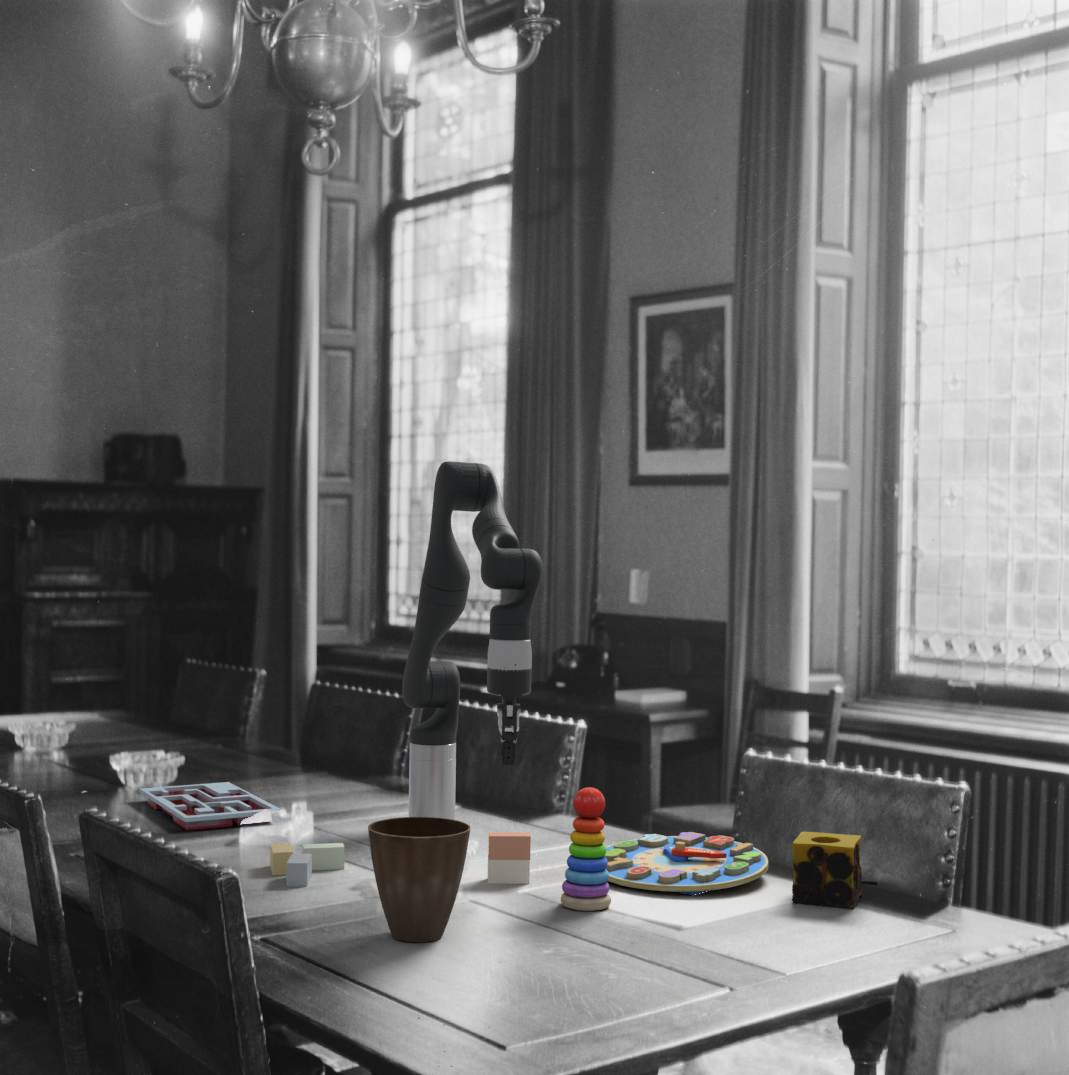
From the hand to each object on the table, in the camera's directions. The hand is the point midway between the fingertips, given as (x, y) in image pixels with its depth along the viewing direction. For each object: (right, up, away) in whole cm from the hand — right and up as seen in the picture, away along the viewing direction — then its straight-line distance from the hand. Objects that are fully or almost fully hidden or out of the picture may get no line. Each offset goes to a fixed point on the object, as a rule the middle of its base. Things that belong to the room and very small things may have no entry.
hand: (507, 760), depth 241 cm
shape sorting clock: (+30, -21, +6) cm, 37 cm away
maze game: (-63, -20, +54) cm, 85 cm away
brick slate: (-35, -20, -3) cm, 40 cm away
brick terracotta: (0, -16, -1) cm, 16 cm away
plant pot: (-12, -20, -34) cm, 42 cm away
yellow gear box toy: (+52, -21, -9) cm, 57 cm away
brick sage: (-32, -20, +7) cm, 39 cm away
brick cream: (0, -20, -1) cm, 20 cm away
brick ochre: (-39, -20, +4) cm, 44 cm away
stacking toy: (+13, -21, -16) cm, 29 cm away
